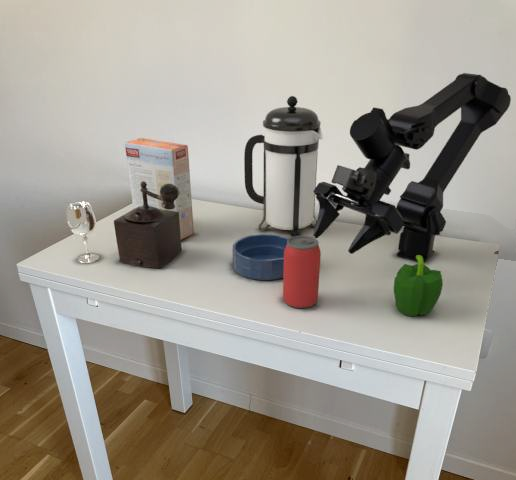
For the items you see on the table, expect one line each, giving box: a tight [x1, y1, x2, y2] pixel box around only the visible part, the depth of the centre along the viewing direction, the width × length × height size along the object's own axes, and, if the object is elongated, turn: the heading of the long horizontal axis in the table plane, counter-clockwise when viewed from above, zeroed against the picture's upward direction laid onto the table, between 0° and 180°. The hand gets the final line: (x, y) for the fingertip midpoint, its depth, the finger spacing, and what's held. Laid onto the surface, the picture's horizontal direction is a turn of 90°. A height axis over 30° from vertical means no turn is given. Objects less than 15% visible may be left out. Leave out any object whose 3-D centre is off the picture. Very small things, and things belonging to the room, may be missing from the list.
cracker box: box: [124, 137, 195, 241], centre depth 125 cm, size 14×6×21 cm, turn 58°
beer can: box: [282, 235, 322, 309], centre depth 99 cm, size 7×7×12 cm
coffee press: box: [243, 95, 324, 238], centre depth 125 cm, size 17×16×30 cm
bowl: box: [231, 233, 291, 281], centre depth 114 cm, size 14×14×4 cm
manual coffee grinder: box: [113, 181, 183, 269], centre depth 113 cm, size 16×11×18 cm
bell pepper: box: [393, 255, 444, 317], centre depth 96 cm, size 8×8×10 cm
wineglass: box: [66, 201, 100, 264], centre depth 115 cm, size 6×6×12 cm
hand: (331, 244), depth 101 cm, fingers open, 9 cm apart
